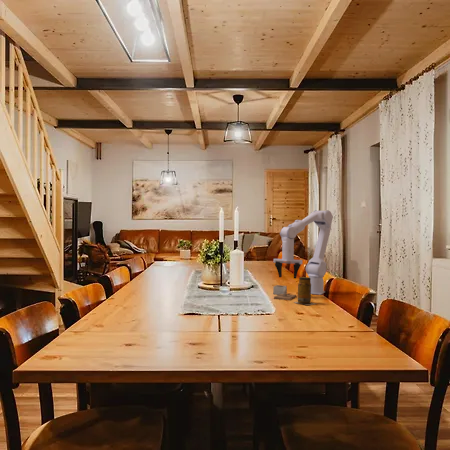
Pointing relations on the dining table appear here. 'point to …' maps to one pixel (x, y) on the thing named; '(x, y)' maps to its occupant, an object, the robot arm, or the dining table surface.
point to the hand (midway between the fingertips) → (287, 277)
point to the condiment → (304, 291)
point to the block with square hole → (279, 289)
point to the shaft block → (285, 296)
